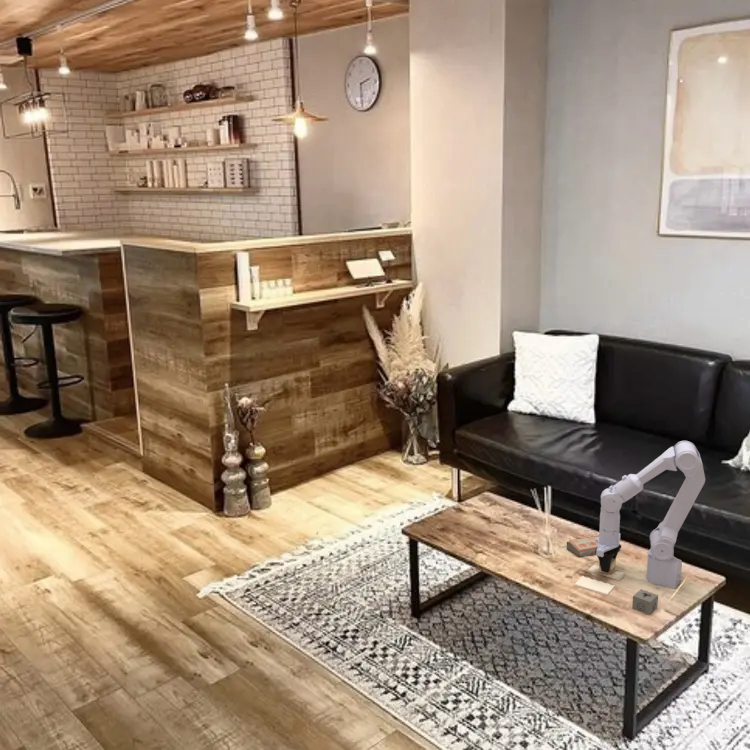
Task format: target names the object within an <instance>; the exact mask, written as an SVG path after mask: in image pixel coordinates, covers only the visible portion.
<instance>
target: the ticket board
mask: <svg viewBox="0 0 750 750" xmlns="http://www.w3.org/2000/svg"><path fill="white" fill-rule="evenodd" d="M574 587H578V588H580V589H583V590H587V591H590V592H592V593H593V592H594V593H597V594H600V595H603V596H609V595H610V594H611V592H612V591H613V590H614V589H615V588H616V585H615V584H612V583H608V582H605V581H602V580H599V579H595V578H592V577H588V576H584V575H582V576H581V577H580V578H579V579H578V580H577V581H576V582H575V583H574Z"/></svg>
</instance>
